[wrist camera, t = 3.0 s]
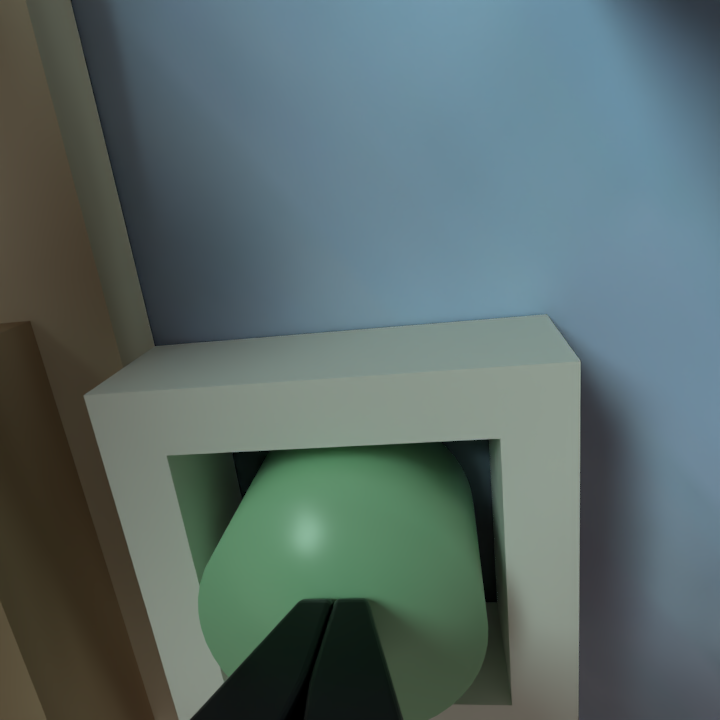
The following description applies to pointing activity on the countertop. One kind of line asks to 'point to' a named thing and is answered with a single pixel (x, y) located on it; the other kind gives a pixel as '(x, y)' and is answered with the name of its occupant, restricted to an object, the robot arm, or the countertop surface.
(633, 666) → the countertop surface
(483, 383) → the white flat square frame
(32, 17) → the board
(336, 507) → the button
